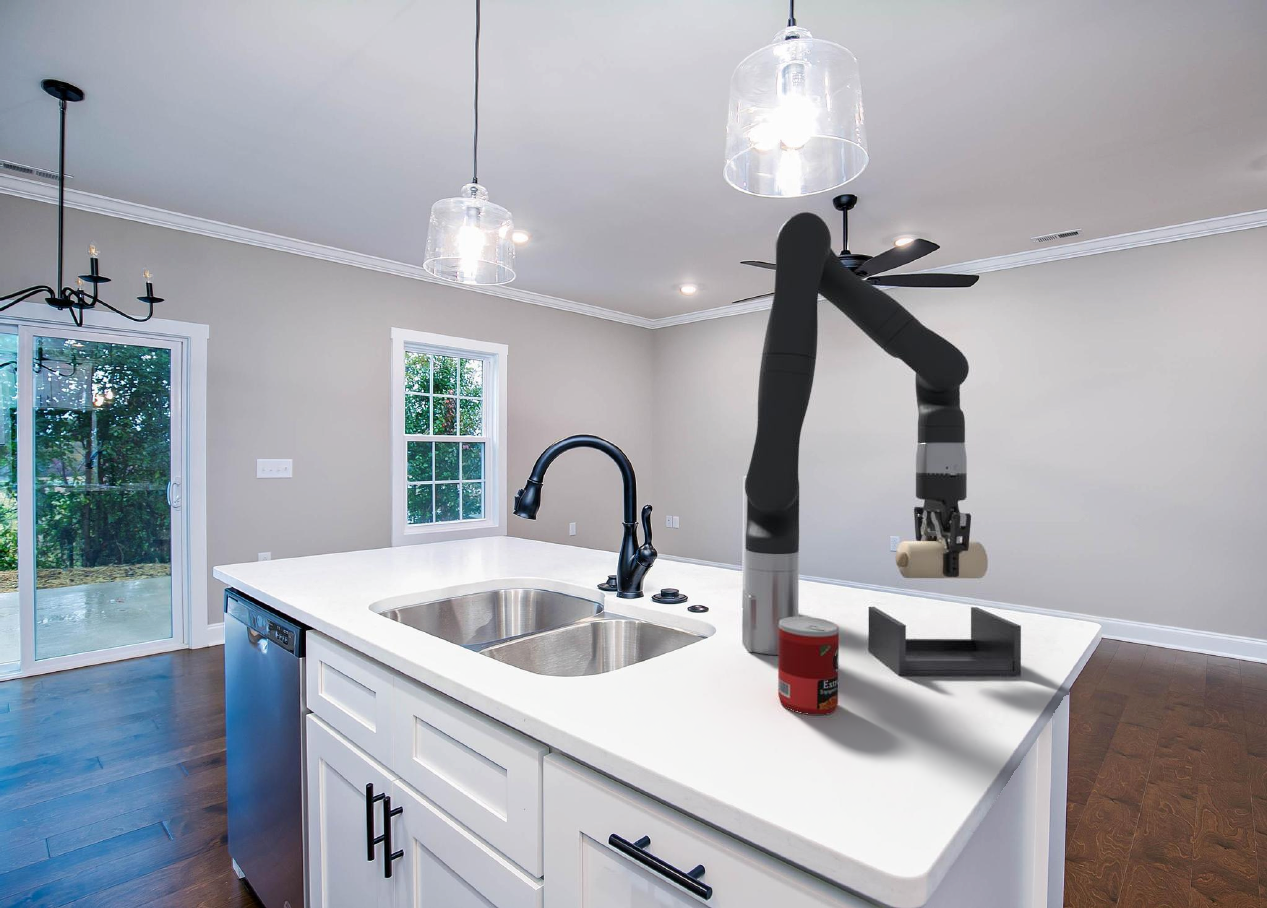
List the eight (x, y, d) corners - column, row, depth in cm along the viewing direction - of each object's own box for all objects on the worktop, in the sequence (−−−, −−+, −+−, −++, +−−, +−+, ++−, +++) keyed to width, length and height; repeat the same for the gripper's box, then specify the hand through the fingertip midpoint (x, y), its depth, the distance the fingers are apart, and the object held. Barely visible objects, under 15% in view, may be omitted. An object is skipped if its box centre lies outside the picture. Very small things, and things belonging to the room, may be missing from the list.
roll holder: (899, 676, 95) (899, 625, 95) (868, 651, 107) (868, 606, 107) (1020, 676, 96) (1020, 626, 96) (976, 652, 108) (976, 607, 108)
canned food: (830, 721, 79) (830, 635, 79) (769, 707, 83) (770, 625, 83) (844, 701, 85) (845, 621, 85) (787, 689, 89) (788, 613, 89)
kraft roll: (906, 582, 99) (907, 545, 98) (890, 573, 105) (891, 538, 104) (993, 582, 99) (994, 545, 99) (972, 573, 105) (973, 538, 105)
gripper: (898, 469, 109) (898, 565, 109) (940, 471, 94) (940, 581, 94) (940, 470, 109) (940, 565, 109) (989, 472, 95) (988, 581, 94)
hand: (940, 572), depth 102 cm, fingers closed on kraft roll, 6 cm apart
